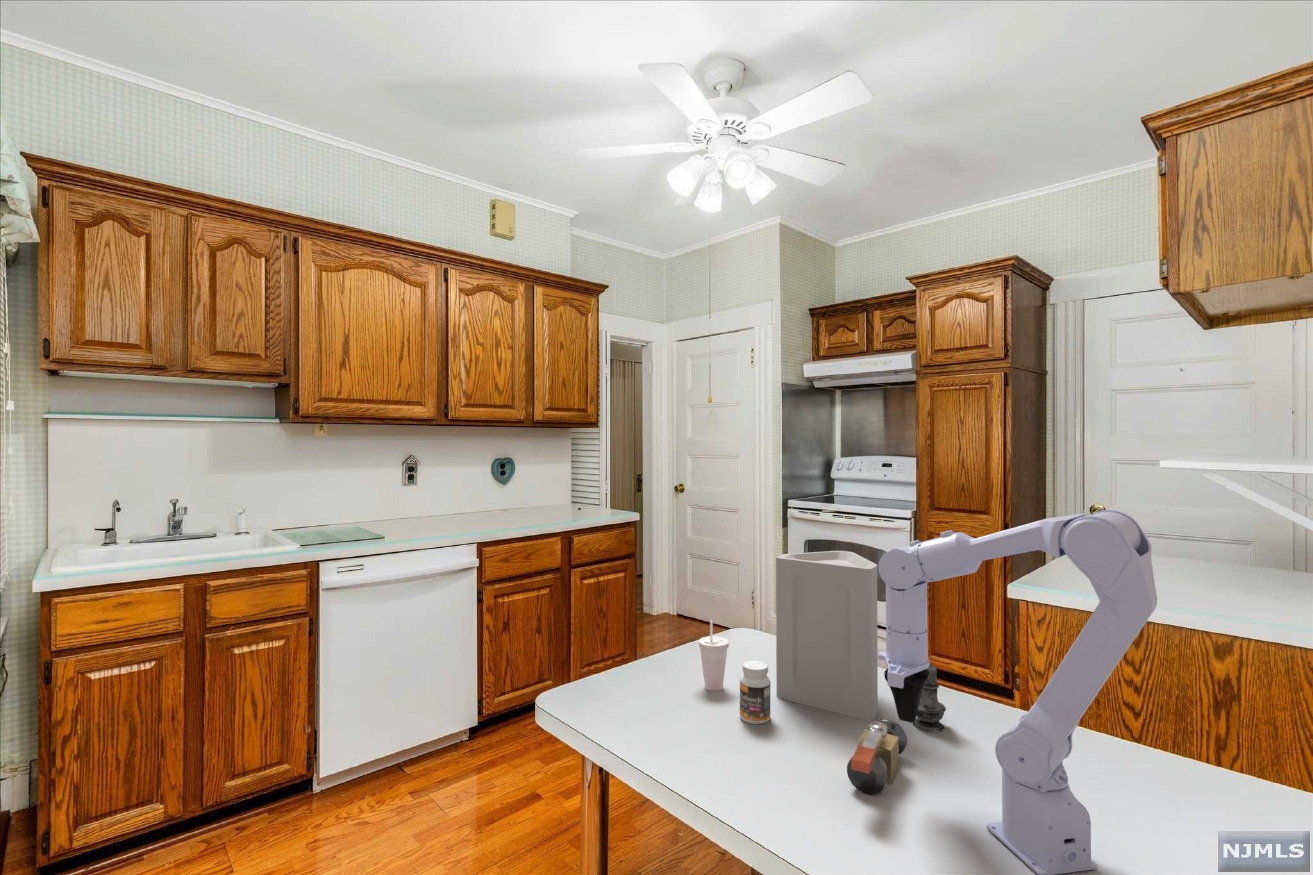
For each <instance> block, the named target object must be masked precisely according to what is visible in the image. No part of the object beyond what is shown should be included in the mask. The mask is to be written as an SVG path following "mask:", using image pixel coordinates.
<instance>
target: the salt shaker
mask: <svg viewBox="0 0 1313 875" xmlns="http://www.w3.org/2000/svg"><path fill="white" fill-rule="evenodd" d="M930 662H931V661H930V660H929V667H928V668H927V669H926V670H928V671H929V672H930V675H929V677H928V678H927V680H926V682H925V684H924V687H923V690H922V693H921V697H920V702H919V708H918V713H917V717H916V719H915V721H914V723H912V725H913V726H914V727H915V728H916V729H919V730H921V731H924V732H928V733H930V732H931V733H940V732H942V731H944V730H945V725H944V724H943V723H942V722H941V720H942V719H943V717H944V715H945V712H946V711H947V708H946V706H945V705H944V704H943V703H941V702H940V701H939V699H938V689H939V687H940V685H939V684H938V682H937V681H938V678H937V676H938V674H937V672H938V670H937V668H936V666H935V665H933V664H931V663H930Z"/></svg>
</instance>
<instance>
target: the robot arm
mask: <svg viewBox="0 0 1313 875" xmlns="http://www.w3.org/2000/svg"><path fill="white" fill-rule="evenodd" d="M1152 548H1153V547H1152V543H1151V542H1150V540H1149V538H1148V537H1147V536H1146V534H1145V532H1144V531H1143V529H1142V528H1141V526H1140V525H1139V523H1138V522H1137V521H1136V520H1135V519H1134V518H1133V517H1132V516H1130V515H1128V514H1127V513H1125V512H1122V511H1119V510H1116V509H1115V510H1114V509H1113V510H1112V509H1105V510H1104V509H1103V510H1099V511H1096V512H1094V513H1092V514H1090V515H1087V513H1077V514H1068V515H1062V516H1056V517H1055V516H1054V517H1048V518H1043V519H1040V520H1036V521H1033V522H1030V523H1026V524H1022V525H1019V526H1015V527H1011V528H1007V529H1003V530H1001V531H997V532H994V533H993V532H992V533H990V534H987V535H984V536H979V537H976V538H974V537H972V536H971V535H968V534H966V533H965V532H962V531H959V532H954V531H953V530H952V529H951V530H946V531H942V532H940V534H939V537H936V538H932V539H928V540H925V541H920V540H919V539H916V540H913V541H912V540H911V541H910V542H909V545H906V546H905V545H904V546H902V547H899V548H892V549H890V550H889V551H887V552H885V553H884V554H882V555H881V557H880V559H879V561H878V574H879V575H880V576H879V577H880V578H881V579H882V581H883V582H884V583H885V628H886V629H885V635H886V636H885V639H886V640H885V642H886V643H885V646H886V647H885V650H881V651H880V652H878V653H877V660H882V661H884V662H885V666H886V667H887V668H886V669H885V670H884V672H883V673H884V674H883V676H884V679H885V681H886V683H887V686H888V687H889V688H890V691H891V694H892V697H893V700H894V705H895V709H896V712H897V716H898V720H899V721H902V722H907V723H910V724H913V723H914V721H915V719H916V718H918V717H917V713H918V708H919V702H920V697H921V693H922V690H923V687H924V684H925V682H926V680H927V678H928V677H929V675H930V672H929V671H928V670H926V669H927V668H928V667H929V663H930V662H929V661H930V659H929V652H928V651H929V648H928V646H929V644H928V643H929V642H928V641H929V640H928V636H929V635H928V634H929V633H928V583H929V582H930V583H934V582H939V581H943V580H948V579H952V578H956V577H960V576H966V575H971V574H975V573H977V571H978V570H979V568H980V566H981V564H982V562H983V561H989V560H993V559H997V558H998V559H999V558H1004V557H1009V556H1013V555H1017V554H1018V555H1019V554H1024V553H1029V552H1034V551H1042V552H1044V553H1046V554H1048V555H1051V556H1053V557H1055V558H1062V557H1064V556H1066V557H1067V558H1068V559H1069V560H1070V561H1071V562H1072V564H1073V565H1075V566H1076V568H1077V569H1078V570H1079V571H1080V572H1082V574H1083V575H1084V576H1085V577H1086V578H1087V579H1088V580H1089V582H1090V584H1091V587H1092V588H1093V590H1094V592H1095V593H1096V595H1097V597H1098V599H1099V602H1098V604H1097V606H1096V607H1095V609H1094V610H1093V612H1092V614H1091V615H1090V617H1089V618H1088V620H1087V621H1086V622H1085V625H1084V626H1083V627H1082V629H1081V631H1080V632H1079V633H1078V635H1077V637H1076V639H1075V640H1074V642H1073V643H1072V644H1071V646H1070V648H1069V649H1068V651H1067V653H1066V654H1065V655H1064V657H1063V659H1062V660H1061V662H1060V664H1059V665H1058V666H1057V668H1056V670H1055V671H1054V672H1053V674H1052V676H1051V677H1050V679H1049V680H1048V682H1047V684H1046V686H1045V687H1044V689H1043V690H1042V692H1041V693H1040V695H1039V696H1038V698H1037V700H1036V701H1035V702H1034V704H1033V705H1032V706H1031V708H1030V709H1029V710H1028V711H1027V712H1026V713H1025V714H1023V715H1022V716H1021V717H1020V719H1019V720H1018V722H1017V723H1015V725H1014V726H1012V728H1010V729H1009V730H1008V731H1007V732H1005V733H1003V734H1001V736H999V737H998V739H997V740H996V744H995V756H996V759H997V762H998V764H999V766H1000V767H1001V776H1002V777H1001V782H1002V783H1001V784H1002V785H1001V790H1002V791H1001V798H1002V799H1001V803H1002V804H1001V806H1002V808H1001V812H1002V814H1001V816H1002V817H1001V818H1002V819H1001V821H997V822H989V823H986V828H987V830H988V831H989V832H990V833H991V834H993V835H994V836H995V837H996V838H997V839H998V840H999V841H1001V842H1002V844H1004V845H1005V846H1006V847H1007V848H1008V849H1009V850H1010V851H1012V852H1013V853H1014V855H1016V856H1017V857H1018V858H1019V859H1020V860H1021V861H1022V862H1024V864H1026V865H1027V866H1028V867H1029V868H1030V869H1031V870H1032V871H1034V872H1035V873H1036V874H1037V875H1060V874H1061V875H1062V874H1070V873H1075V872H1076V873H1077V872H1084V871H1091V870H1097V869H1098V868H1097V867H1098V865H1097V863H1096V862H1095V861H1093V860H1092V847H1091V846H1092V843H1091V841H1092V836H1091V835H1092V833H1091V832H1092V826H1091V825H1092V822H1091V817H1090V813H1089V811H1088V810H1087V808H1086V806H1084V805H1083V803H1081V802H1080V801H1079V800H1078V799H1077V797H1076V796H1075V795H1074V793H1073V792H1072V790H1071V787H1070V784H1069V776H1068V775H1067V774H1068V773H1067V772H1066V769H1065V767H1064V765H1063V764H1064V763H1063V761H1064V760H1066V759H1067V758H1068V757H1069V756H1070V754H1071V752H1072V750H1073V734H1074V732H1075V729H1076V728H1077V727H1078V725H1079V722H1080V720H1081V719H1082V718H1083V715H1084V714H1085V713H1086V712H1087V710H1088V708H1089V707H1090V706H1091V704H1092V702H1094V700H1095V698H1096V697H1097V696H1098V694H1099V693H1100V691H1101V690H1102V689H1103V686H1104V685H1105V683H1106V682H1107V680H1108V679H1109V678H1110V676H1111V675H1112V673H1113V672H1114V670H1115V669H1116V667H1117V666H1118V665H1119V663H1120V662H1121V660H1122V658H1123V657H1124V656H1125V654H1126V653H1127V651H1128V650H1129V648H1130V647H1131V645H1132V644H1133V642H1134V640H1136V638H1137V636H1138V635H1139V634H1140V632H1141V630H1142V629H1143V628H1144V626H1145V624H1146V623H1147V622H1148V620H1149V619H1150V617H1151V616H1152V615H1153V613H1154V611H1155V610H1156V608H1157V605H1158V596H1157V588H1156V583H1155V582H1156V581H1155V574H1154V569H1153V563H1152V562H1153V561H1152Z"/></svg>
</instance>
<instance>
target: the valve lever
mask: <svg viewBox="0 0 1313 875" xmlns="http://www.w3.org/2000/svg"><path fill="white" fill-rule="evenodd" d="M868 727H869V728H868V729H869V732H868V734H867V736H866V738H865V740H864V742H863V744H862V746H858V748H857V747H856V750H855V751H854V753H853V755H852V756H853V757H852V756H851V758H852V769H853V770H857V771H861V772H865V773H868V774H869V773H870V771H871V769H872V767H873V765H874V762H875V760H876V751H877V749H878V747H879V745H880V743H881V740H882V739H883V738H886V737H887V726H886V725H885V724H884V723H881V722H876V721H870V723H869V726H868Z"/></svg>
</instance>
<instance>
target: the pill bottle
mask: <svg viewBox="0 0 1313 875" xmlns="http://www.w3.org/2000/svg"><path fill="white" fill-rule="evenodd" d="M742 673H743V674H741V675H740V679H739V718H740V719H741V720H742V721H744V722H746V723H748V724H753V725H762V724H765V723H767V722H768V721H769V720H770V719H771V679H770V677H769V676H768V673H769V665H768V664H767V663H766V662H764V661H760V660H747V661H745V662H743V663H742Z"/></svg>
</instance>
